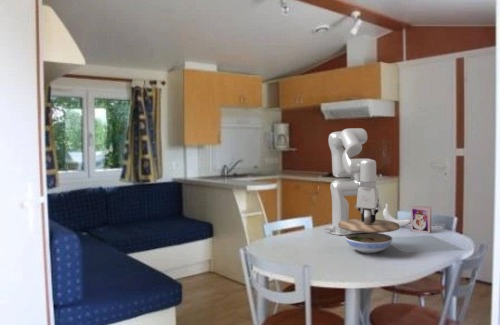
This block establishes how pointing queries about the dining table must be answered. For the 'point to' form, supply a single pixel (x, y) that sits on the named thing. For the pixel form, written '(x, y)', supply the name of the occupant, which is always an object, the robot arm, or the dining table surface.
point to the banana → (390, 218)
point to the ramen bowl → (368, 241)
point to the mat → (422, 244)
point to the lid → (368, 224)
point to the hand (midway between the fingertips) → (368, 221)
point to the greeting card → (421, 218)
